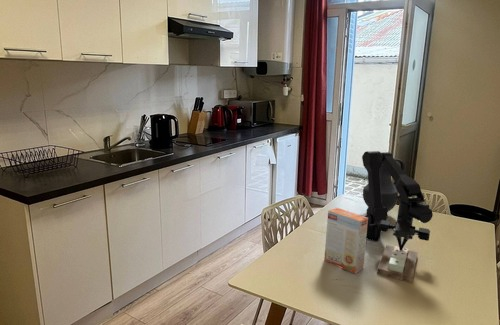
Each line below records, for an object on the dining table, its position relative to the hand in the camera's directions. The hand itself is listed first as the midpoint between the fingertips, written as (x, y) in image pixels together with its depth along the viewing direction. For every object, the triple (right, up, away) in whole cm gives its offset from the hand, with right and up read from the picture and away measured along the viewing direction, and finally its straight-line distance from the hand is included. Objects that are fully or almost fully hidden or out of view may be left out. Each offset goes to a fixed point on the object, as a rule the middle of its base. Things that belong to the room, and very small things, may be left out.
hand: (400, 249), depth 146 cm
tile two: (-3, -3, -6) cm, 7 cm away
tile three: (0, -3, +1) cm, 3 cm away
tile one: (-7, -4, -12) cm, 14 cm away
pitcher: (+9, +7, +47) cm, 48 cm away
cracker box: (-25, -4, -6) cm, 26 cm away
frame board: (-3, -5, -5) cm, 8 cm away
